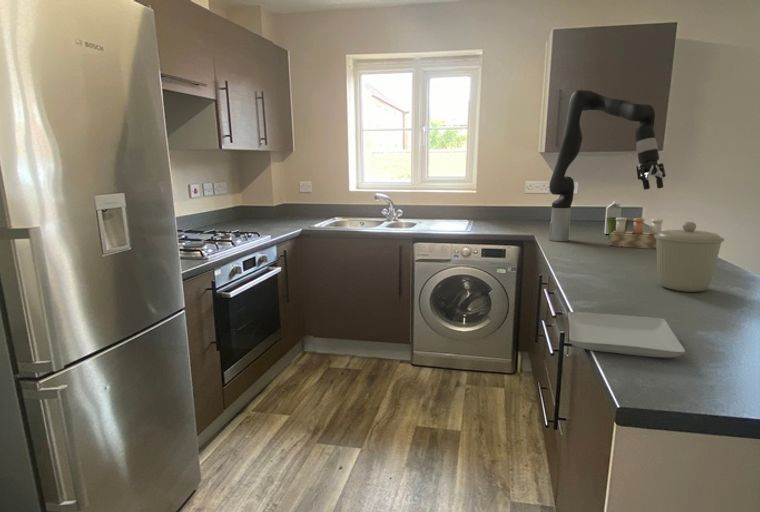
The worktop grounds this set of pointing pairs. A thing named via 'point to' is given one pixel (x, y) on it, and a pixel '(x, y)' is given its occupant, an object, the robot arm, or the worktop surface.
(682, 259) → the canister
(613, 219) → the plant pot
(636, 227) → the terracotta plug
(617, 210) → the milk carton
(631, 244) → the woven basket
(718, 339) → the worktop surface
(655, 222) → the cream plug right
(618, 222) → the cream plug left
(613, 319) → the salad plate
